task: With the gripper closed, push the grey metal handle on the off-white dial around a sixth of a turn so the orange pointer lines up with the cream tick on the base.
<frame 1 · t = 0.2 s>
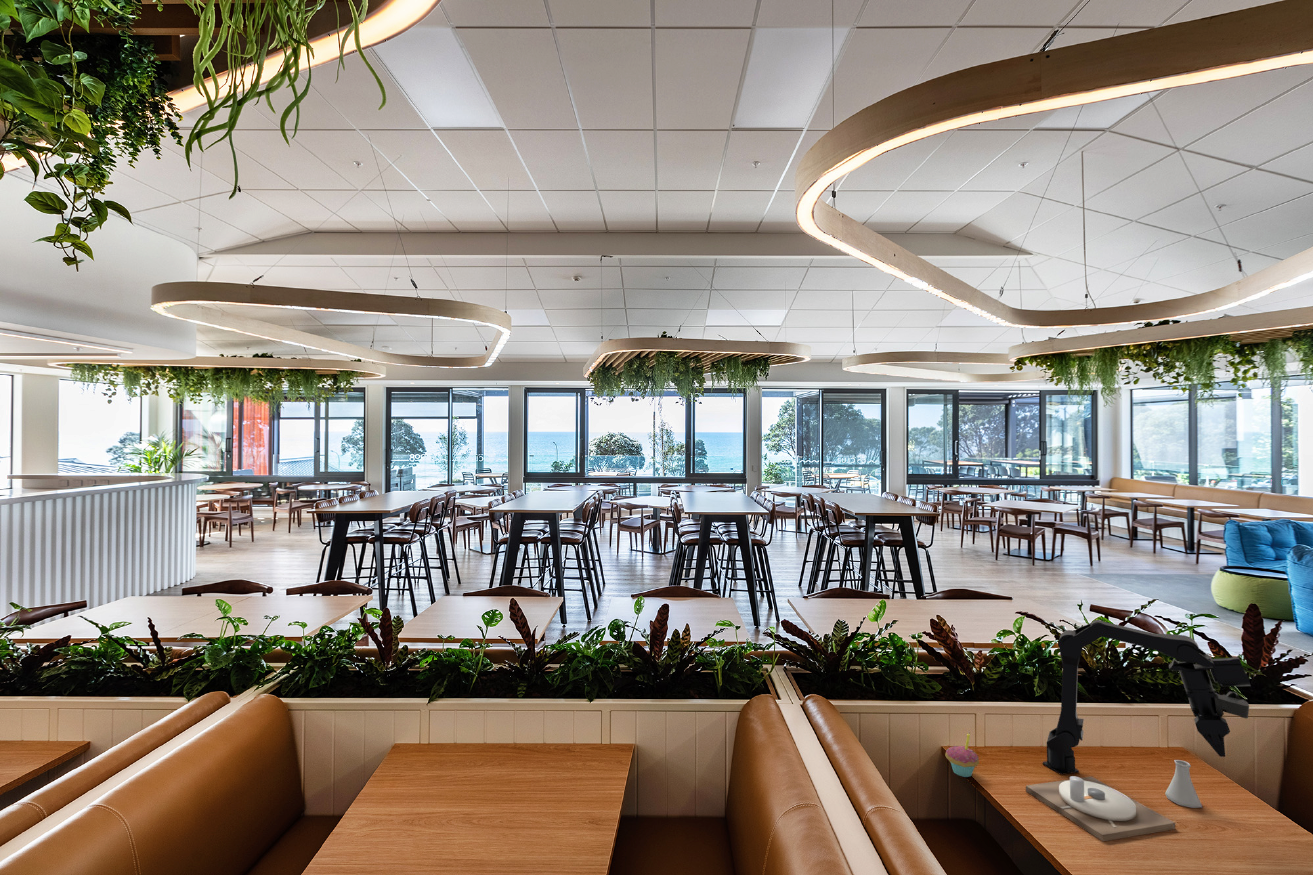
hand: (1220, 749, 155), 15 cm above the table, tool pointing down, fingers open, 9 cm apart
dial base: (1096, 809, 155), on the table
dial: (1096, 789, 155), point 5 cm above the table, hinge at 0.0°
flask: (1183, 801, 158), on the table
cupcake: (962, 773, 172), on the table
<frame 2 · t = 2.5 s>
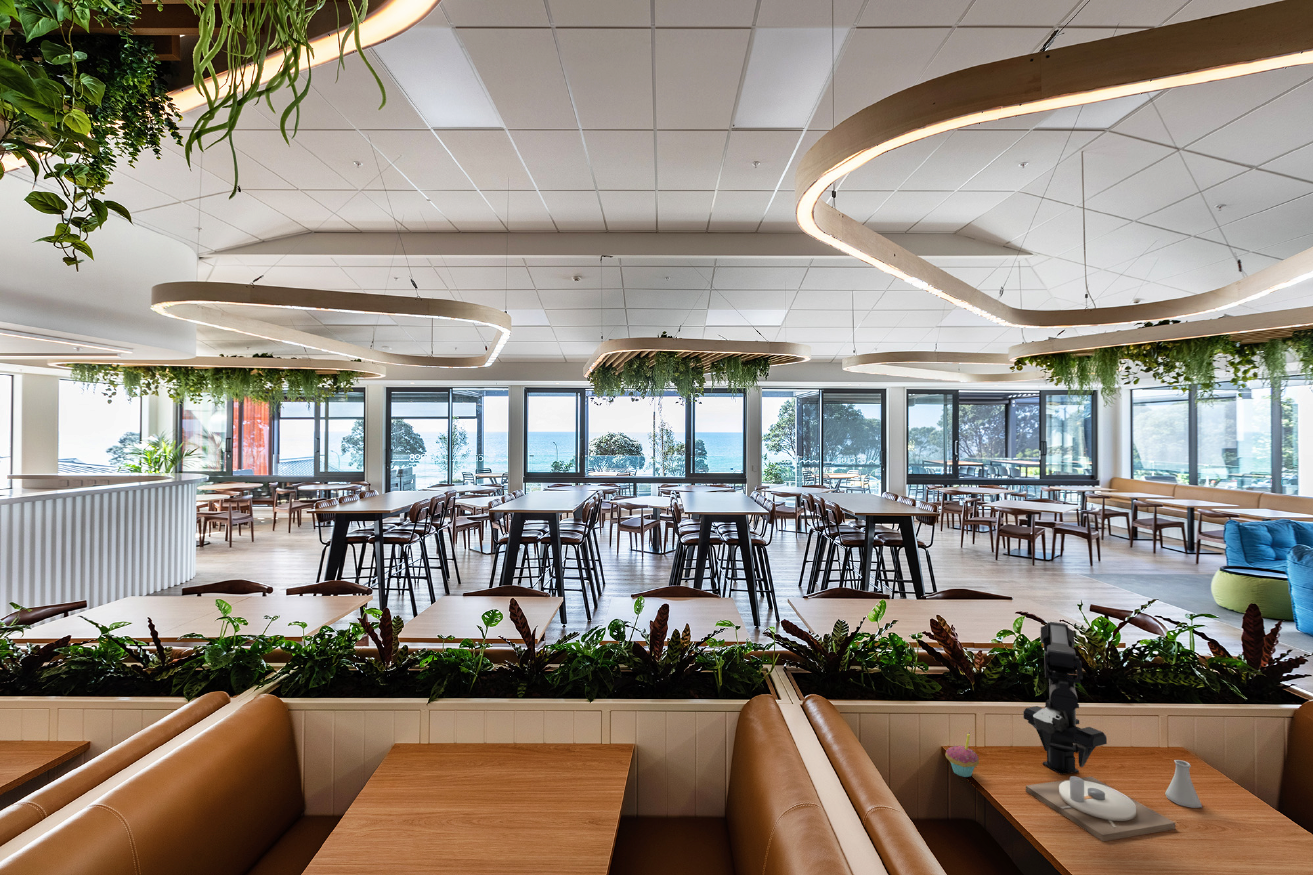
hand: (1063, 758, 158), 11 cm above the table, tool pointing down, fingers open, 9 cm apart
nothing on the table moved.
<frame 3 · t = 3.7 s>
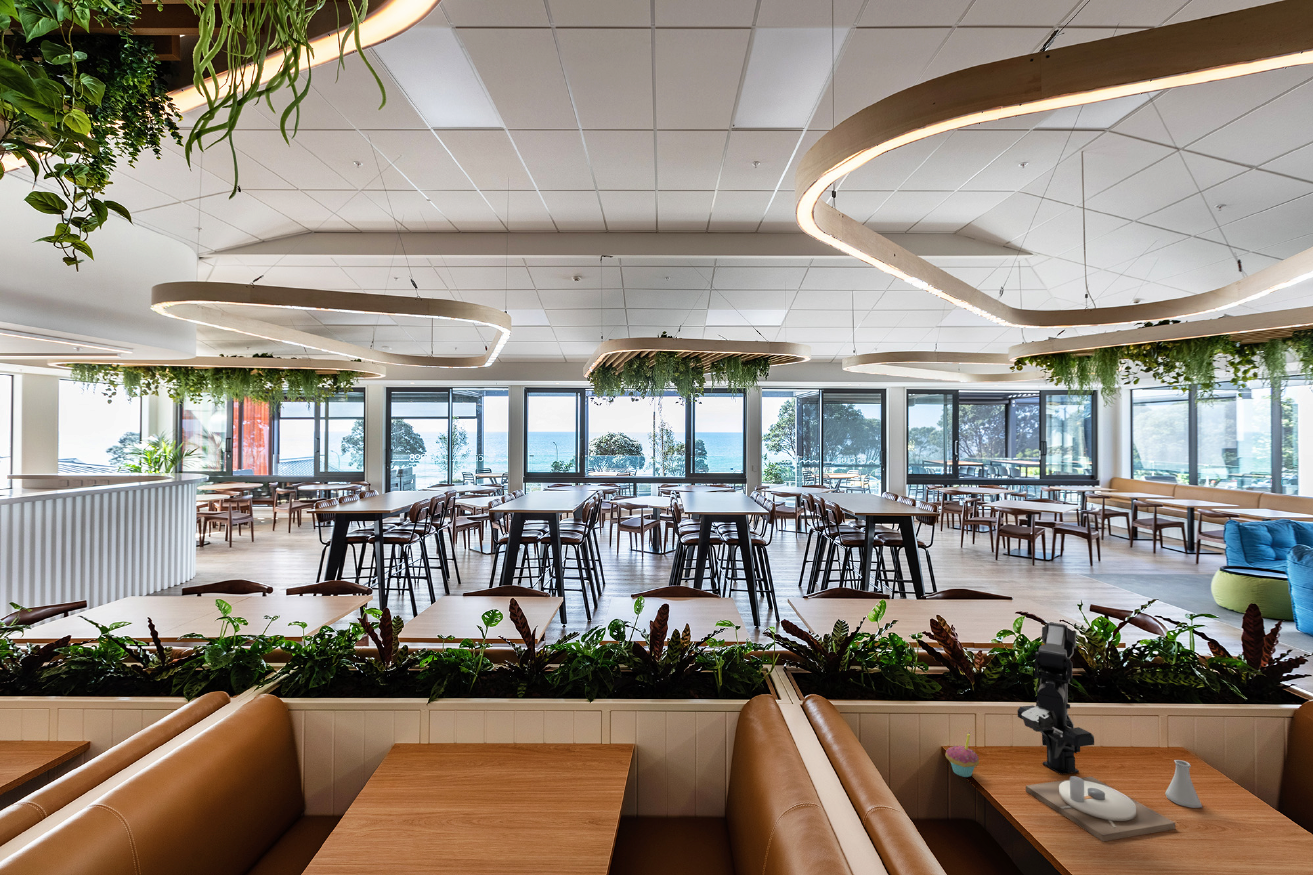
hand: (1054, 757, 160), 11 cm above the table, tool pointing down, fingers closed
nothing on the table moved.
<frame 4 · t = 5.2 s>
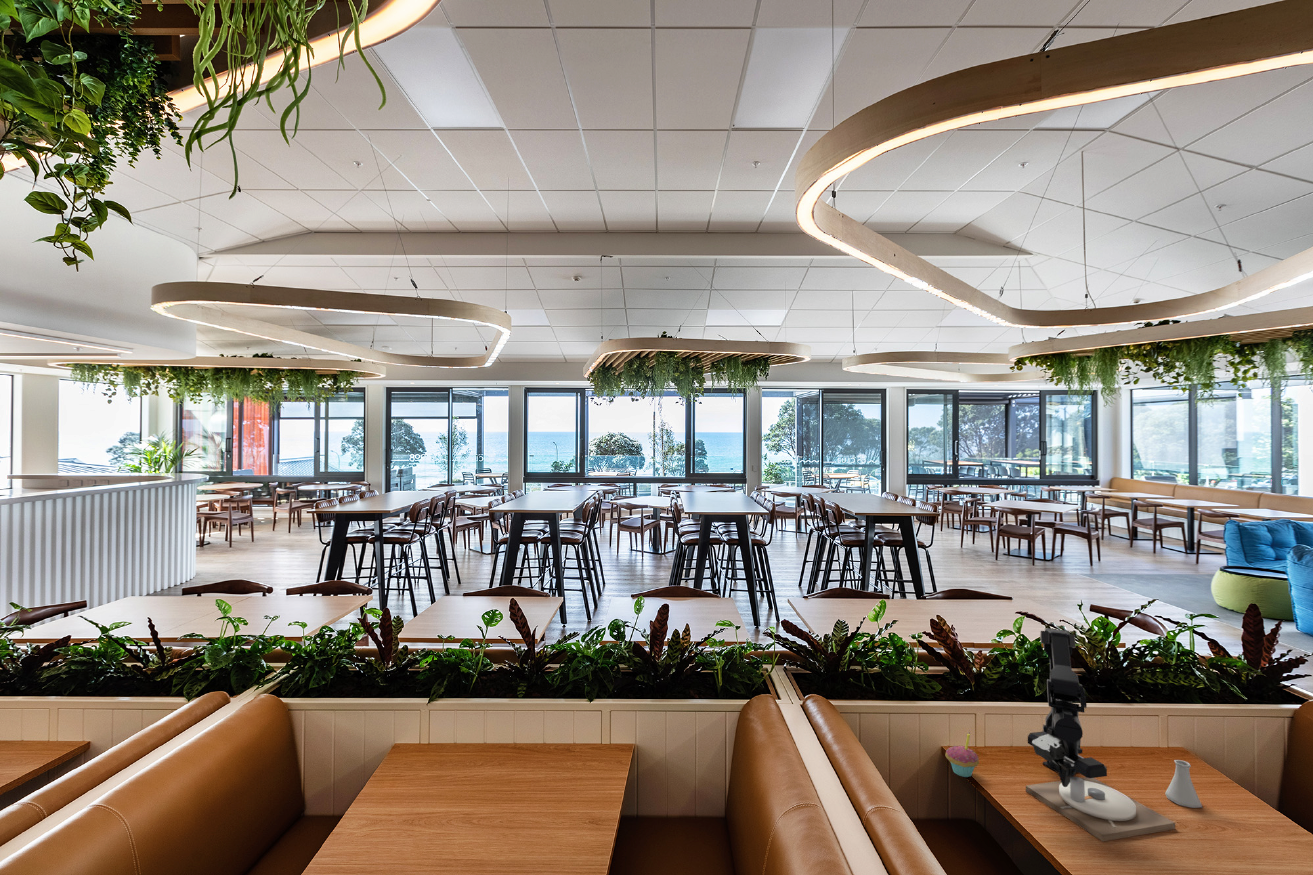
hand: (1065, 786, 157), 5 cm above the table, tool pointing down, fingers closed
dial: (1096, 789, 155), point 5 cm above the table, hinge at 0.9°, touching gripper
everything else where it was.
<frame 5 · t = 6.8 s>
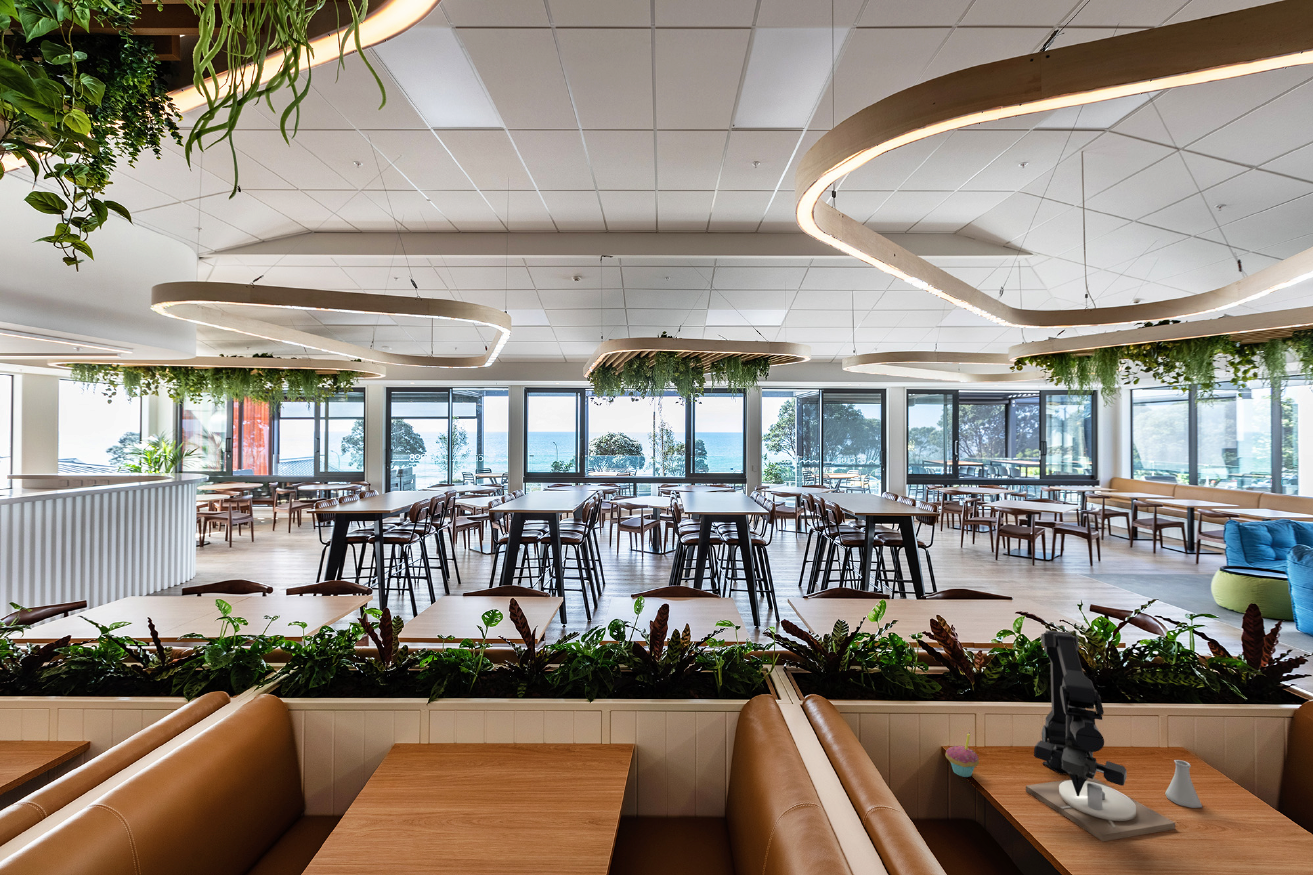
hand: (1078, 795, 152), 5 cm above the table, tool pointing down, fingers closed
dial: (1096, 789, 155), point 5 cm above the table, hinge at 38.3°, touching gripper
everything else where it was.
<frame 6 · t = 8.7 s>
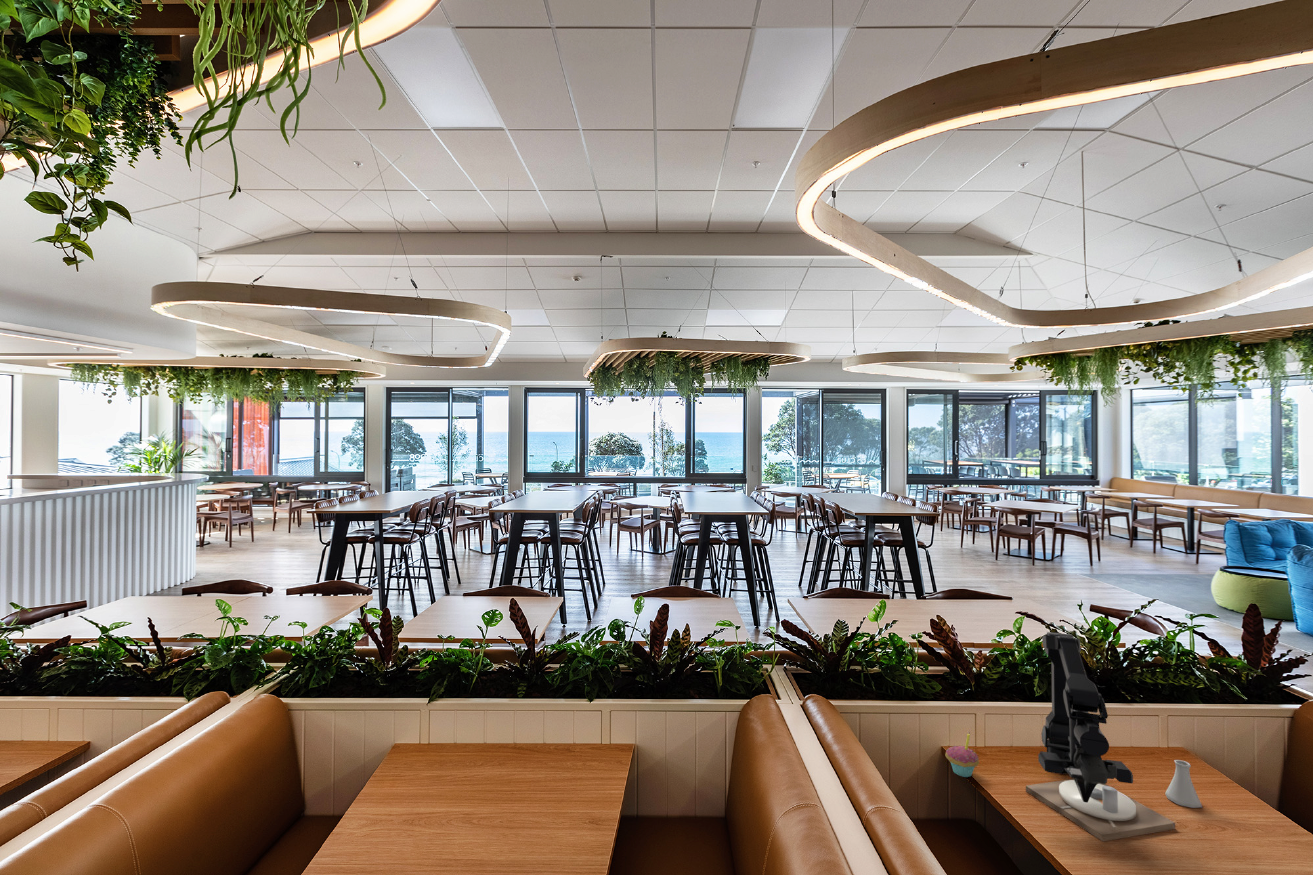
hand: (1084, 801, 150), 5 cm above the table, tool pointing down, fingers closed
dial: (1096, 789, 155), point 5 cm above the table, hinge at 68.7°
everything else where it was.
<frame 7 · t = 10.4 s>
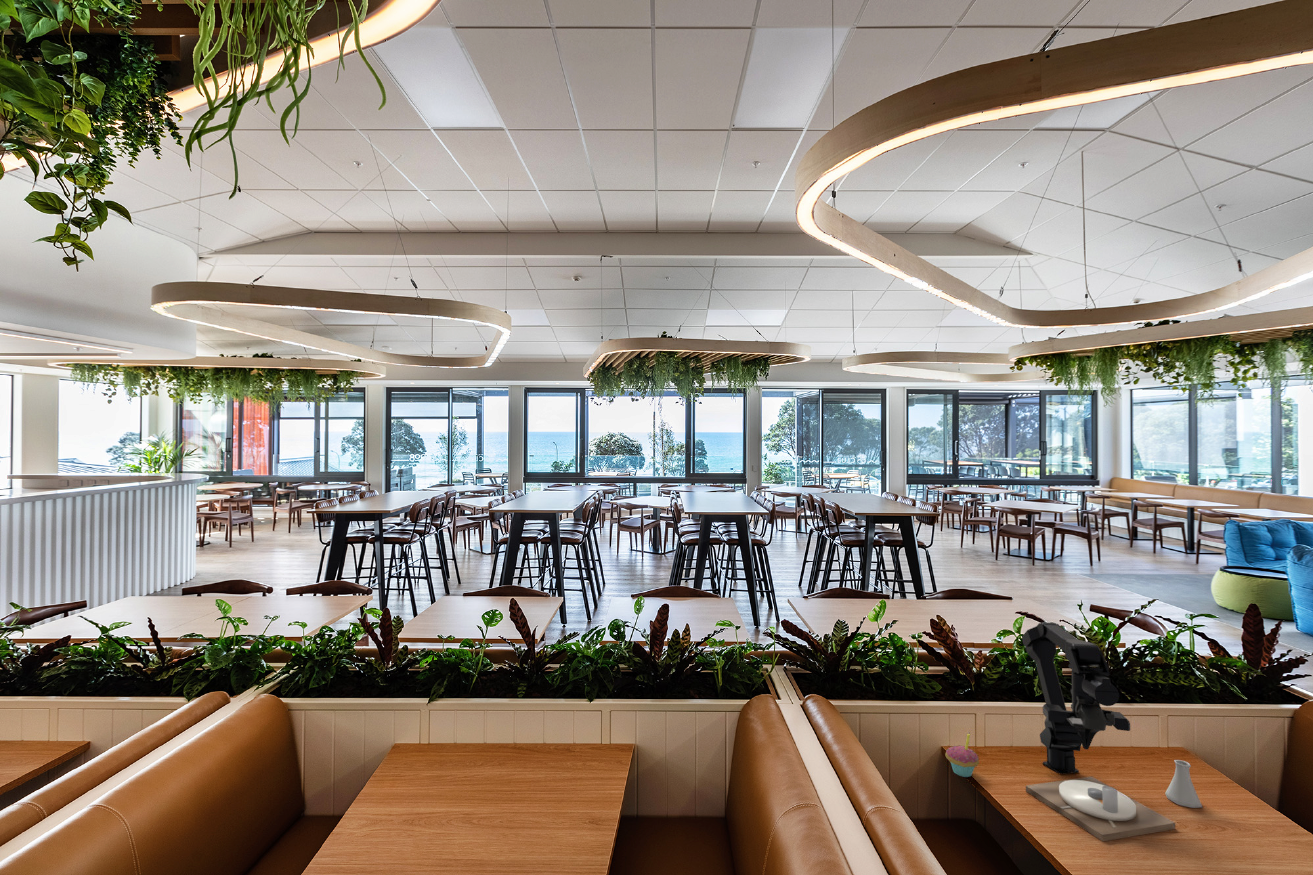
hand: (1085, 748, 162), 12 cm above the table, tool pointing down, fingers closed
nothing on the table moved.
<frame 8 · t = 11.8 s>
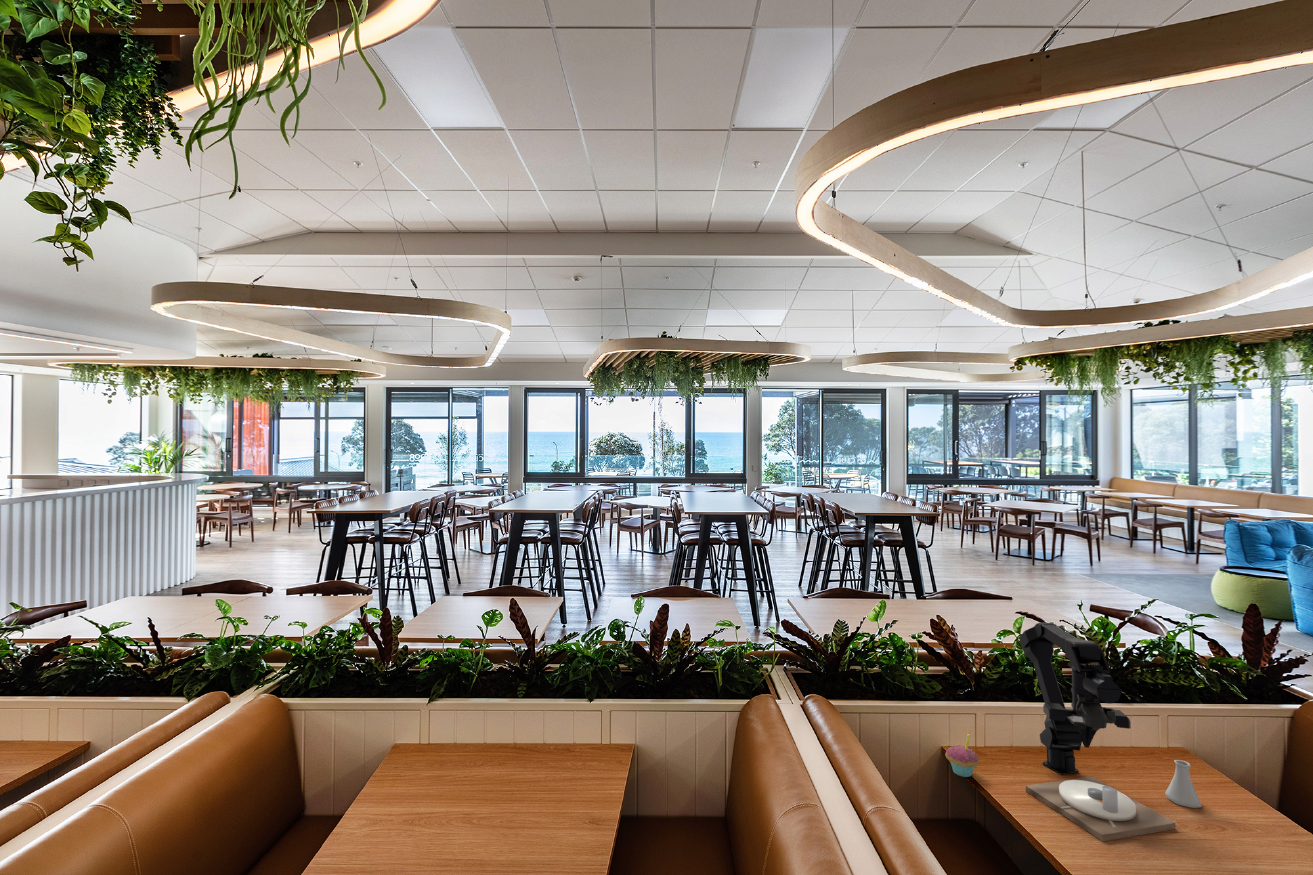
hand: (1086, 746, 163), 12 cm above the table, tool pointing down, fingers closed
nothing on the table moved.
at the end: dial at +69° (first picture: +0°) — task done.
